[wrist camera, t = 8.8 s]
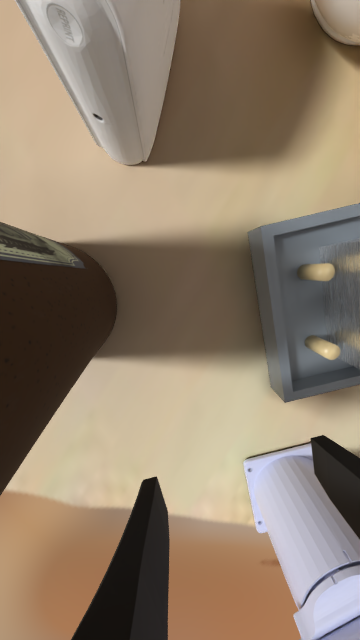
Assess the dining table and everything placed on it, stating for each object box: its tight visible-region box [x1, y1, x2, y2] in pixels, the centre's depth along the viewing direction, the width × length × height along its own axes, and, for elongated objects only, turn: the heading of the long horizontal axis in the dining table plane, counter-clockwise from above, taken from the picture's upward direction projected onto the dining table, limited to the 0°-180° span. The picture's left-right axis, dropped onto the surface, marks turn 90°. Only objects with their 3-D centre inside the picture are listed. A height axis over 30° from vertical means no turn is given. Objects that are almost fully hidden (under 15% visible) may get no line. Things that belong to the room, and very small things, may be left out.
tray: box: [248, 203, 360, 403], centre depth 18 cm, size 14×14×4 cm
